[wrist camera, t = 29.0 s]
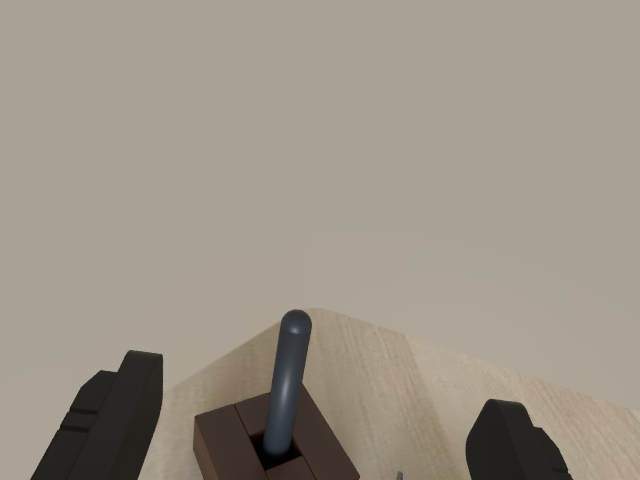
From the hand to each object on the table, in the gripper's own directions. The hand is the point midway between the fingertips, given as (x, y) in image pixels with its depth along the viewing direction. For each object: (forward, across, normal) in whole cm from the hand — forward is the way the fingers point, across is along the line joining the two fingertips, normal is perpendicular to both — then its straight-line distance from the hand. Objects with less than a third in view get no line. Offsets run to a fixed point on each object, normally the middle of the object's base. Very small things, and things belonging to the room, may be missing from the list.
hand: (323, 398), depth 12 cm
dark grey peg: (+11, 0, +21) cm, 24 cm away
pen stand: (+11, 0, +21) cm, 24 cm away
